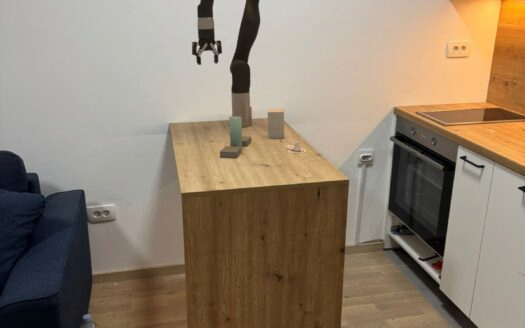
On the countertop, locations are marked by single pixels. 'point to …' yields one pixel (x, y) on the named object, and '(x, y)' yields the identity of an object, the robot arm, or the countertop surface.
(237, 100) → the robot arm
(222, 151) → the rectangular blocks
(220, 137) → the countertop surface
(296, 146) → the teacup and saucer
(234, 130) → the teal green tall block
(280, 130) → the supplement box
